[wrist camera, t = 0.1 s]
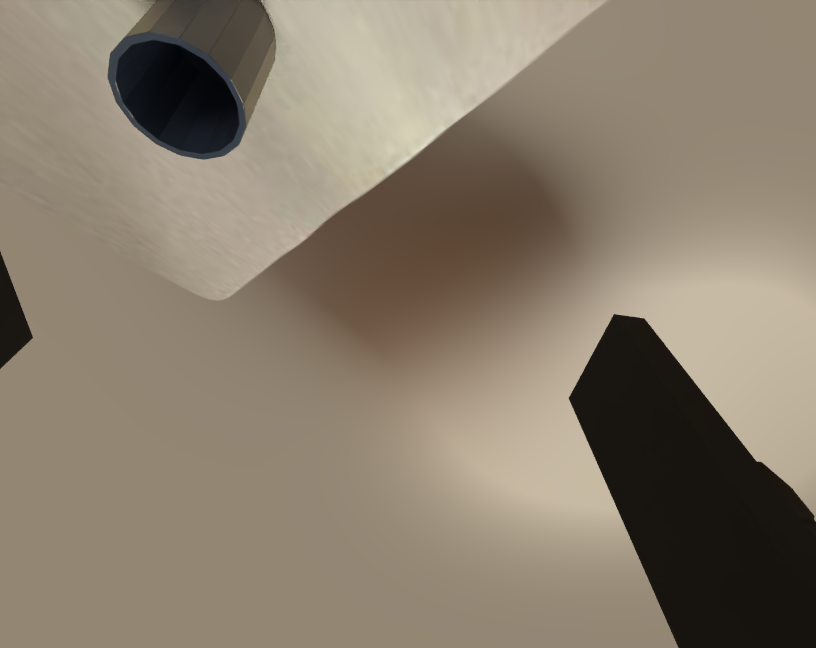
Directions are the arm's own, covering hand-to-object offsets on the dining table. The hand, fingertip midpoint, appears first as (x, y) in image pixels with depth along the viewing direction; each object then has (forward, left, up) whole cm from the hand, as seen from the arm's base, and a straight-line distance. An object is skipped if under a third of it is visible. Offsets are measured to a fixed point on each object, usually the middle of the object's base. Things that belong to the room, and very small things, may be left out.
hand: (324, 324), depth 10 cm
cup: (+13, -2, -28) cm, 31 cm away
